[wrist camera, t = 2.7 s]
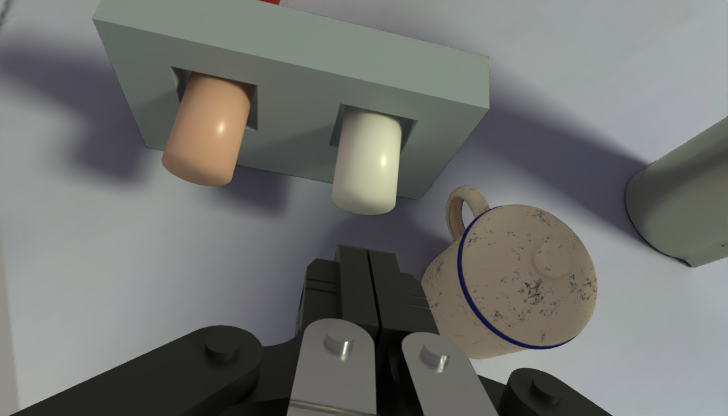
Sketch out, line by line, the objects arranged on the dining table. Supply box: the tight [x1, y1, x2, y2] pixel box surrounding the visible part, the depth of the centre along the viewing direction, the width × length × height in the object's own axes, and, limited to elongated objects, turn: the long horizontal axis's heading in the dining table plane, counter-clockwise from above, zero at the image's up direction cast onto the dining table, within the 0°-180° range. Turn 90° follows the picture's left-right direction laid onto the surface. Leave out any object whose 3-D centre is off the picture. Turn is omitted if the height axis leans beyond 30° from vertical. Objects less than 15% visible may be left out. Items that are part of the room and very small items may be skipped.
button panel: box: [92, 0, 489, 200], centre depth 32 cm, size 4×22×13 cm, turn 84°
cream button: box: [331, 104, 403, 215], centre depth 30 cm, size 7×4×4 cm, turn 174°
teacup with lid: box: [421, 186, 597, 359], centre depth 31 cm, size 12×9×12 cm
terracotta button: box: [162, 71, 256, 186], centre depth 29 cm, size 7×4×4 cm, turn 174°
